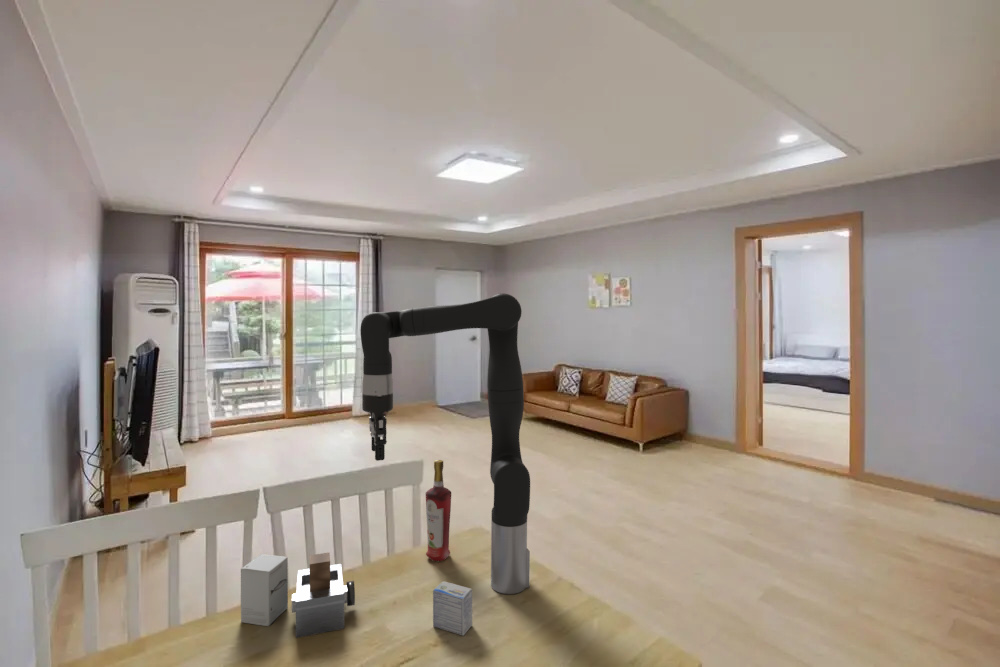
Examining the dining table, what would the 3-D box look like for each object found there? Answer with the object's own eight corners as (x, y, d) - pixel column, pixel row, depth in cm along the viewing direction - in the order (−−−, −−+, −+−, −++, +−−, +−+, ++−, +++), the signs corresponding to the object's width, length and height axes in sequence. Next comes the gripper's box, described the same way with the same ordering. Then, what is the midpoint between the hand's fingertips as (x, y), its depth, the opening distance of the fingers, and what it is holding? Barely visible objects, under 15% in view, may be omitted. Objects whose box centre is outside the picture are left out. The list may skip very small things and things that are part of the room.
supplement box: (269, 627, 113) (268, 571, 113) (239, 622, 115) (239, 568, 114) (289, 608, 121) (288, 556, 120) (261, 604, 122) (260, 552, 121)
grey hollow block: (341, 595, 126) (341, 563, 126) (344, 628, 113) (344, 593, 113) (298, 602, 123) (297, 570, 123) (295, 637, 110) (295, 601, 109)
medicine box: (472, 625, 115) (473, 588, 114) (463, 637, 111) (463, 598, 110) (442, 616, 118) (442, 580, 118) (432, 627, 114) (432, 589, 114)
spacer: (329, 581, 120) (329, 552, 120) (330, 591, 116) (330, 561, 116) (309, 584, 119) (309, 555, 119) (309, 594, 115) (309, 564, 114)
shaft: (353, 597, 123) (353, 576, 123) (354, 609, 118) (354, 587, 118) (292, 608, 118) (292, 586, 118) (291, 621, 113) (291, 598, 113)
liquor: (419, 559, 145) (420, 462, 143) (436, 549, 151) (436, 456, 149) (440, 566, 141) (440, 466, 139) (456, 555, 147) (456, 460, 146)
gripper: (360, 388, 133) (360, 449, 134) (364, 397, 120) (365, 464, 121) (389, 386, 136) (389, 446, 137) (397, 395, 122) (397, 462, 123)
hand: (377, 455), depth 129 cm, fingers open, 8 cm apart
